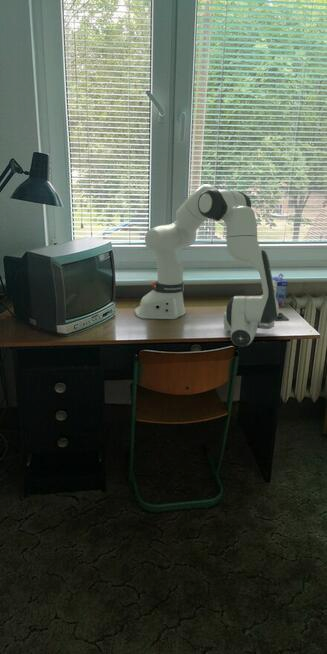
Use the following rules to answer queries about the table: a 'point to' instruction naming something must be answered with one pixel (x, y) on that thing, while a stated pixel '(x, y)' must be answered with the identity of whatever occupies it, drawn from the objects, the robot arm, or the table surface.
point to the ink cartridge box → (280, 289)
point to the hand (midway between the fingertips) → (250, 313)
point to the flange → (281, 317)
